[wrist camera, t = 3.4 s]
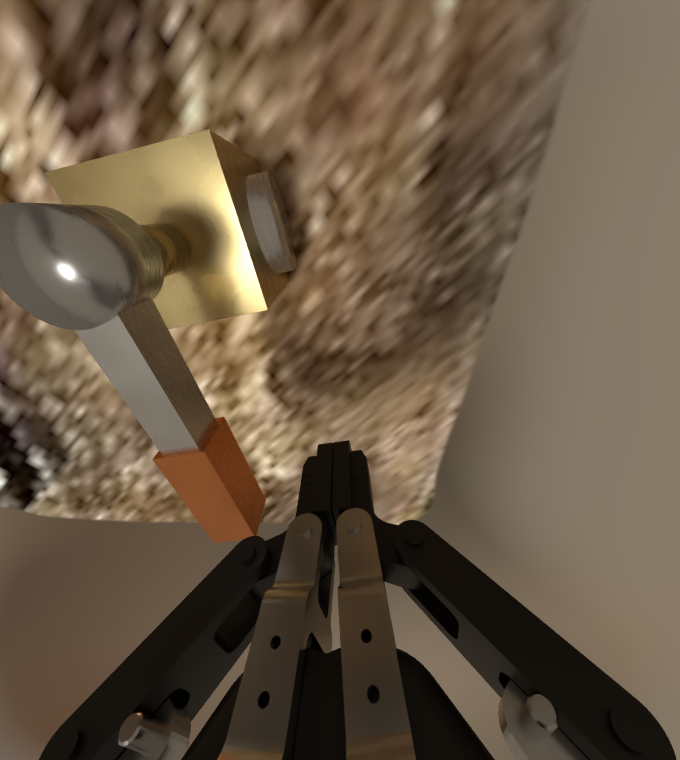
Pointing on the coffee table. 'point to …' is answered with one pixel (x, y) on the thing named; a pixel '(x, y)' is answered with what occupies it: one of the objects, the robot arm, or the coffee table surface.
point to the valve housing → (196, 222)
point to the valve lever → (129, 346)
